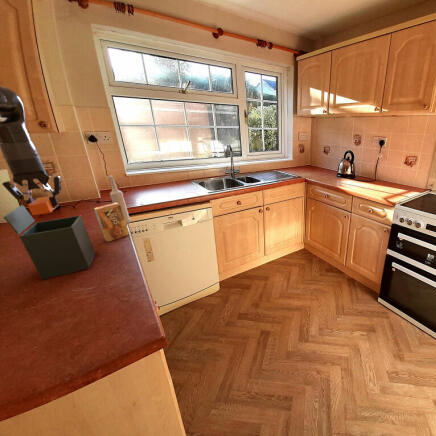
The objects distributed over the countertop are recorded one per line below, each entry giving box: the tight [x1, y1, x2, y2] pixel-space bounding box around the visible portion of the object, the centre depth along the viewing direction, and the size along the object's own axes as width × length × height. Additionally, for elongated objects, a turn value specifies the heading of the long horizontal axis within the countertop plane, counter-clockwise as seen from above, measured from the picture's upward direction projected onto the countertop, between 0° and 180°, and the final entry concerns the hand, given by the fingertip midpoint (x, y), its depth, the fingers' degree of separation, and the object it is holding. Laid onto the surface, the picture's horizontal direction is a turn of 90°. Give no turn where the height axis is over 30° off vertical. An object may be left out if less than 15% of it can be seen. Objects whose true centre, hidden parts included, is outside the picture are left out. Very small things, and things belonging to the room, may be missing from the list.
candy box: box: [93, 202, 130, 243], centre depth 109 cm, size 9×4×15 cm, turn 145°
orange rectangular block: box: [27, 196, 60, 216], centre depth 82 cm, size 4×9×4 cm, turn 29°
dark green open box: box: [19, 215, 96, 280], centre depth 88 cm, size 13×13×16 cm
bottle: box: [107, 175, 132, 225], centre depth 123 cm, size 5×5×25 cm
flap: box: [3, 204, 36, 236], centre depth 80 cm, size 6×13×1 cm
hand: (45, 208), depth 82 cm, fingers closed on orange rectangular block, 4 cm apart
